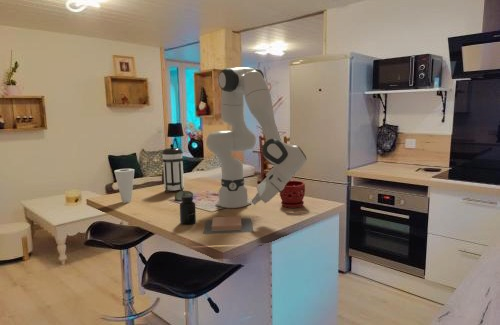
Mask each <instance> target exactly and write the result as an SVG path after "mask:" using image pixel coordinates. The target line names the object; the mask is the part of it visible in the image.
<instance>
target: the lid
mask: <svg viewBox="0 0 500 325" xmlns="http://www.w3.org/2000/svg"><path fill="white" fill-rule="evenodd" d="M185 195H191V196H193V197H194V194H193V192H192V191H190V190H183V191H178V192H176V193H175V194H174V199H175V201H178V202H182V196H185Z"/></svg>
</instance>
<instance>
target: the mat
mask: <svg viewBox="0 0 500 325" xmlns="http://www.w3.org/2000/svg"><path fill="white" fill-rule="evenodd" d="M212 222H213V219H206V221H205V224H204V228H203V233H202V234H203V235H208V234H210V235H211V234H212V235H213V234H236V233H254V226H253V220H252V218H251V217H250V218H241V228H242V230H224V231H212Z"/></svg>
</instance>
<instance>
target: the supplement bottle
mask: <svg viewBox="0 0 500 325" xmlns="http://www.w3.org/2000/svg"><path fill="white" fill-rule="evenodd" d="M193 197H194V195H193V196H191V195H185V196H182V201H180V203H179V216H180V217H179V221H180V222H179V223H180V224H181V225H185V226H189V225H194V224H195V223H196V222H197V221H196V220H197V215H196V211H197V210H196V203H195V201H193V200H194V198H193Z"/></svg>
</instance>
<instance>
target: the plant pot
mask: <svg viewBox="0 0 500 325" xmlns="http://www.w3.org/2000/svg"><path fill="white" fill-rule="evenodd" d="M305 186H306V184H305V182H304V181H300V180H289V182H288V183H287V184H286V185H285V187H284V189H283V190H282V191H280V190H279V192H278V193H279V197H280V199H281V202H280V204H281V205H282V206H283V207H284V208H285V207H286V208H290V209H291V208H292V209H294V208H297V207H298V208H300V207H302V206H303V205H304V204H305V201H304V198H305V192H306V187H305Z"/></svg>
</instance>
